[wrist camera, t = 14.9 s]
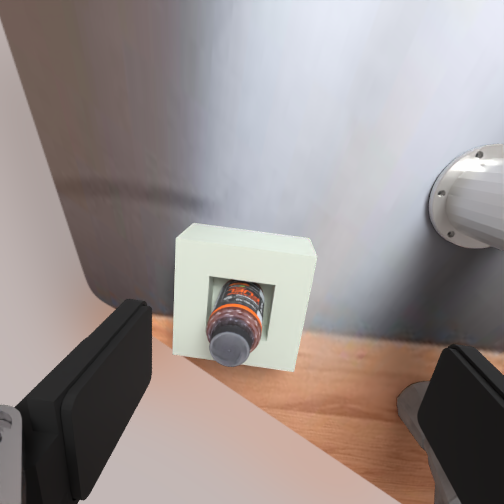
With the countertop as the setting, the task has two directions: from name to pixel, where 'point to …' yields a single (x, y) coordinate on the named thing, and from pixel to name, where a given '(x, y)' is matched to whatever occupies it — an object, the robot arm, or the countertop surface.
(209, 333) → the supplement bottle
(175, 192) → the countertop surface
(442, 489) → the coffeepot
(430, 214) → the robot arm
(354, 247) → the countertop surface
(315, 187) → the countertop surface
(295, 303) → the sage block
